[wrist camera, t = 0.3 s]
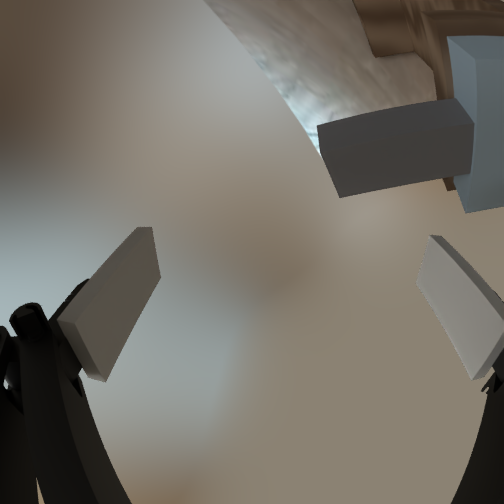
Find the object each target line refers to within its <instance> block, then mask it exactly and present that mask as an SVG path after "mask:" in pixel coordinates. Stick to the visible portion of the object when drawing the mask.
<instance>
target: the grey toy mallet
mask: <svg viewBox="0 0 504 504" xmlns="http://www.w3.org/2000/svg"><path fill="white" fill-rule="evenodd" d="M447 41H448V47H449V53H450V60H451V68H452V76H453V87H454V98H452V99H444V100H437V101H430V102H423V103H417V104H411V105H405V106H400V107H394V108H389V109H384V110H379V111H375V112H370V113H365V114H361V115H357V116H352V117H348V118H344V119H340V120H336V121H332V122H329V123H325V124H321V125H317V131H318V139H319V147H320V153H321V156H322V158H323V160H324V162H325V165H326V167H327V169H328V171H329V174H330V176H331V178H332V181H333V183H334V185H335V188H336V190H337V193H338V195H339V198H342V197H347V196H352V195H357V194H361V193H366V192H371V191H376V190H381V189H387V188H392V187H397V186H402V185H407V184H412V183H418V182H424V181H429V180H435V179H441V178H446V177H452V176H454V181H453V182H454V185H455V187H456V190H457V192H458V195H459V197H460V200H461V202H462V205H463V208H464V211H465V213H471V212H476V211H481V210H487V209H492V208H498V207H504V36H447Z"/></svg>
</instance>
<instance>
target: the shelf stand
mask: <svg viewBox="0 0 504 504" xmlns="http://www.w3.org/2000/svg"><path fill="white" fill-rule="evenodd" d="M352 1H353V3H354V5H355V8H356V10H357V13H358V15H359V17H360V20H361V23H362V25H363V28H364V30H365V33H366V36H367V39H368V41H369V44H370V47H371V50H372V53H373V55H374V56H375V58H377V57H382V56H388V55H393V54H399V53H406V52H413V51H415V52H416V53H417V54H418V55H419V56H420V57H421V58H422V59H423V61H424V62H425V63H426V64H427V65H428V66H429V67H430V68H431V69H432V70H433V73H434V79H435V87H436V95H437V100H444V99H452V98H454V87H453V76H452V68H451V60H450V53H449V47H448V41H447V36H504V2H503V1H501V0H352ZM442 179H443V181H444V183H445V186H446V189H447V191H451V190H456V187H455V185H454V182H453V181H454V176H452V177H446V178H442Z"/></svg>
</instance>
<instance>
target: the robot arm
mask: <svg viewBox="0 0 504 504" xmlns="http://www.w3.org/2000/svg"><path fill="white" fill-rule="evenodd" d="M160 278H161V276H160V270H159V265H158V260H157V254H156V249H155V243H154V237H153V231H152V227H137V228H136V229H135V230H134V231H133V232H132V233H131V234H130V235H129V236H128V238H127V239H125V241H124V242H123V243H122V244H121V245H120V246H119V247H118V248H117V249H116V250H115V251H114V252H113V253H112V254H111V256H110V257H109V258H108V259H107V260H106V261H105V262H104V263H103V265H102V266H101V267H100V268H99V269H98V270H97V272H96V273H95V274H94V275H93V276H92V277H91V278H90V279H86V280H85V281H83V282H82V283H80V284H79V285H77V287H76V288H75V289H74V290H73V291H72V292H71V295H69V296H68V297H67V298H66V299H65V302H63V303H62V304H61V306H60V307H59V308H58V309H57V310H56V312H55V313H54V314H53V315H52V317H51V318H50V319H49V320H47V318H46V316H45V314H44V312H43V310H42V307H41V306H40V305H39V304H38V303H33V302H32V303H27V304H25V305H23V306H20V307H19V308H18V309H16V310H15V311H14V312H13V314H12V315H11V317H10V320H9V322H10V324H11V326H12V327H13V329H14V331H15V333H16V334H17V336H14V337H11V336H10V334H9V332H8V331H7V329H6V328H5V327H4V326H0V504H39V502H38V492H37V480H38V484H39V487H40V490H41V494H42V497H43V500H44V503H45V504H132V503H131V502H130V500H129V498H128V496H127V494H126V492H125V490H124V488H123V487H122V485H121V483H120V481H119V479H118V477H117V475H116V472H115V470H114V468H113V466H112V464H111V462H110V459H109V457H108V455H107V452H106V450H105V448H104V445H103V443H102V440H101V438H100V435H99V432H98V430H97V427H96V425H95V422H94V419H93V416H92V413H91V410H90V408H89V404H88V401H87V397H86V394H85V391H84V387H83V384H82V381H81V379H80V377H79V375H78V374H79V372H80V370H81V368H83V369H84V371H85V373H86V374H87V376H88V377H89V378H91V379H95V380H99V381H102V382H106V381H107V379H108V377H109V375H110V373H111V370H112V369H113V367H114V364H115V363H116V360H117V358H118V356H119V354H120V353H121V351H122V349H123V347H124V345H125V343H126V341H127V339H128V337H129V335H130V333H131V331H132V329H133V327H134V325H135V324H136V322H137V320H138V318H139V316H140V314H141V312H142V311H143V309H144V307H145V305H146V303H147V302H148V300H149V298H150V296H151V294H152V292H153V291H154V289H155V287H156V285H157V284H158V282H159V280H160ZM416 284H417V286H418V287H419V289H420V290H421V292H422V293H423V295H424V296H425V298H426V300H427V301H428V303H429V304H430V306H431V308H432V309H433V311H434V312H435V314H436V316H437V318H438V319H439V321H440V323H441V324H442V326H443V328H444V330H445V331H446V333H447V335H448V336H449V338H450V340H451V342H452V344H453V346H454V348H455V349H456V351H457V353H458V355H459V357H460V359H461V361H462V362H463V364H464V367H465V369H466V371H467V373H468V375H469V377H470V379H471V380H475V379H479V378H482V377H484V376H485V375H486V374H487V372H488V371H489V369H490V368H491V367H493V368H494V370H495V372H494V373H493V375H492V376H491V377H490V379H489V380H488V382H487V383H486V384H485V385H484V387H483V388H482V390H481V391H482V392H483V391H484V390H485V389H486V388H487V387H489V390H488V391H487V392H486V394H488V395H487V400H486V404H485V409H484V413H483V417H482V422H481V425H480V428H479V432H478V435H477V439H476V442H475V445H474V448H473V451H472V454H471V457H470V460H469V463H468V465H467V468H466V470H465V473H464V475H463V478H462V480H461V483H460V485H459V487H458V489H457V492H456V494H455V496H454V498H453V500H452V502H451V504H504V302H503V301H501V298H500V297H499V296H498V295H497V293H496V292H495V291H493V290H492V289H491V288H490V286H489V285H488V284H487V283H486V282H485V281H484V280H483V278H482V277H481V276H480V275H479V274H478V273H477V272H476V271H475V270H474V269H473V267H472V266H471V265H470V264H469V263H468V262H467V261H466V260H465V259H464V258H463V257H462V256H461V255H460V254H459V253H458V252H457V251H456V250H455V249H454V248H453V247H452V246H451V245H450V244H449V243H448V242H447V241H446V240H445V239H444V238H443V237H442V236H436V235H429V239H428V243H427V246H426V250H425V254H424V257H423V261H422V264H421V268H420V271H419V274H418V277H417V280H416ZM4 379H5V380H6V381H7V383H8V384H9V385H8V389H5V387H4ZM36 477H37V480H36Z"/></svg>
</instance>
